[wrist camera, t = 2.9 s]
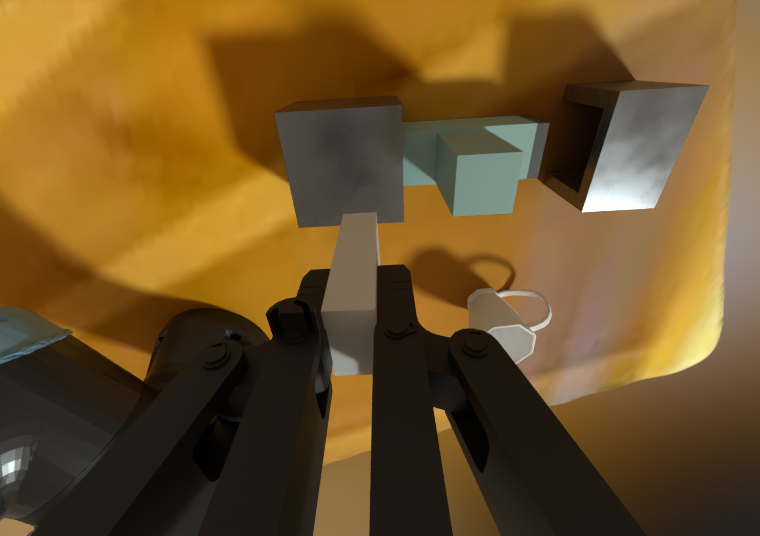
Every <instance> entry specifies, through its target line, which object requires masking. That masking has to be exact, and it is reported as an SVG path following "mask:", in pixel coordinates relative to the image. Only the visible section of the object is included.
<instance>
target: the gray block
mask: <svg viewBox="0 0 760 536" xmlns="http://www.w3.org/2000/svg"><path fill="white" fill-rule="evenodd" d="M274 116H275V120H276V125H277V130H278V134H279V139H280V143H281V148H282V153H283V157H284V162H285V166H286V171H287V176H288V180H289V185H290V189H291V194H292V199H293V203H294V208H295V212H296V217H297V222H298V226H299V228H304V227H322V226H339V225H341V221H342V217H343V214H353V213H371V212H377V223H393V222H404V200H403V133H402V104H401V102H400V101H399V99H398V98H397V96H384V97H369V98H353V99H337V100H322V101H306V102H295V103H293V104H291V105H289V106H287V107H285V108H283V109H281V110H279V111H277V112H275V113H274Z"/></svg>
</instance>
